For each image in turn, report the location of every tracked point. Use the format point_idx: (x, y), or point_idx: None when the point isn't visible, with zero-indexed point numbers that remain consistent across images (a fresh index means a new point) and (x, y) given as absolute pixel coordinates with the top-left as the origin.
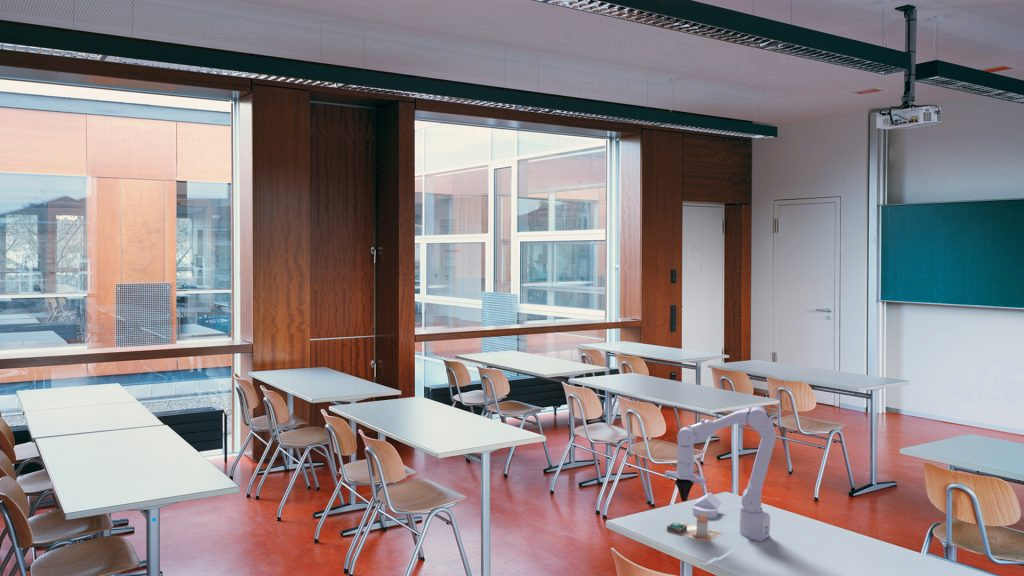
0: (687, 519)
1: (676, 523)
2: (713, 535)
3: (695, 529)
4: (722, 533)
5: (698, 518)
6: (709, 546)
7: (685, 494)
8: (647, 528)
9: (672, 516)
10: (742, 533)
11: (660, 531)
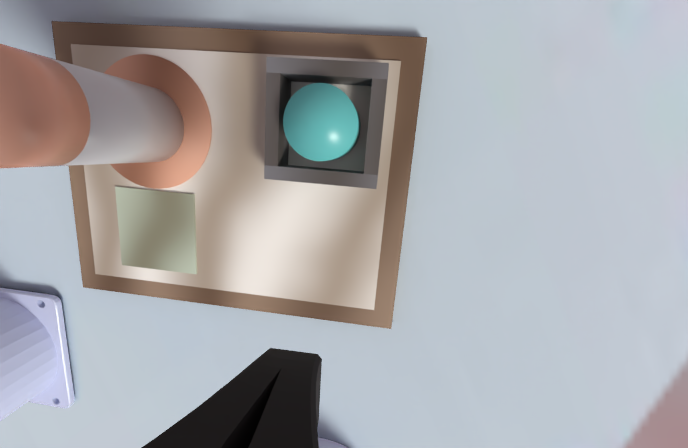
0: (373, 400)
1: (329, 133)
2: (112, 193)
3: (241, 230)
4: (94, 259)
5: (12, 48)
6: (62, 17)
7: (182, 418)
8: (553, 70)
9: (474, 404)
10: (9, 308)
11: (439, 74)
